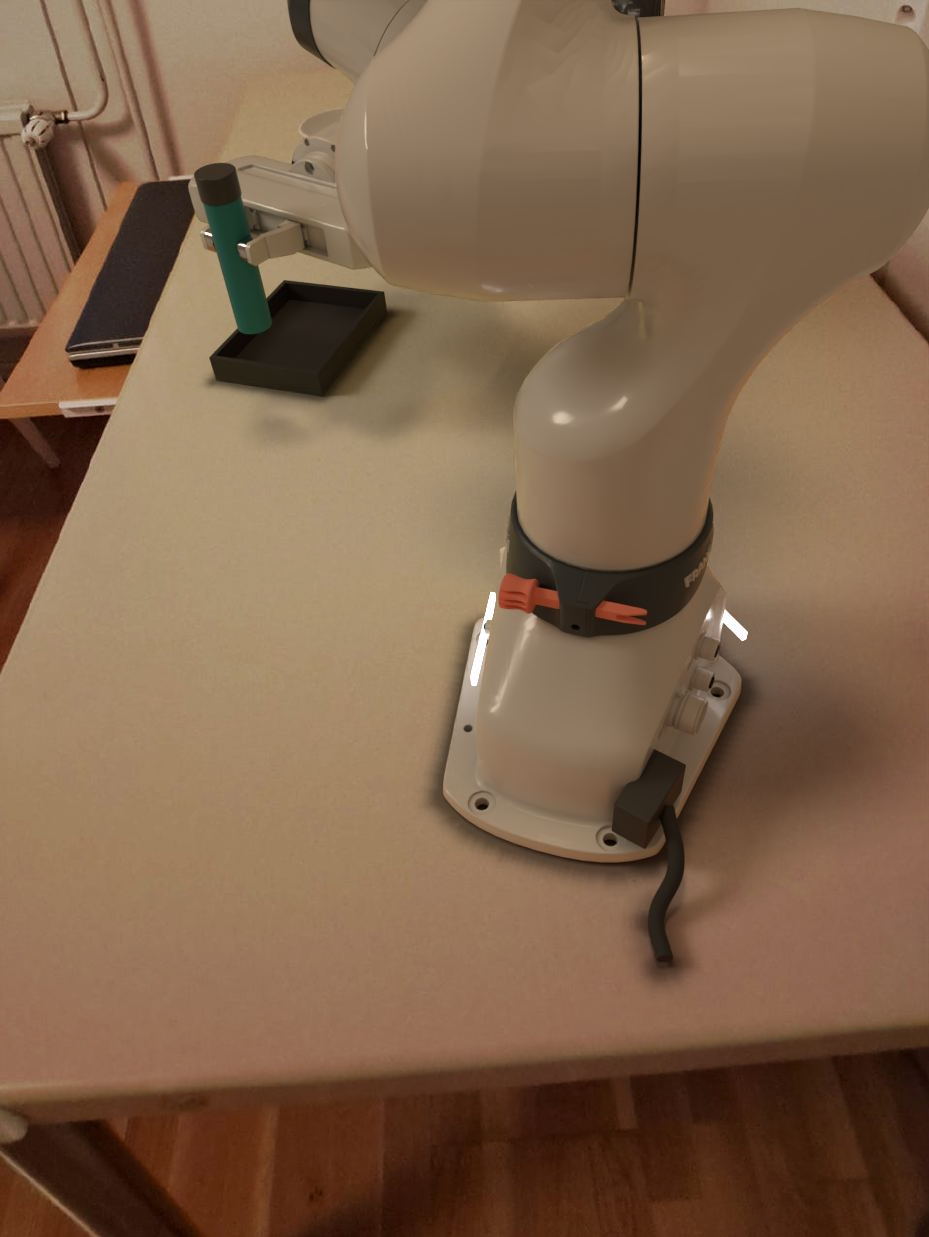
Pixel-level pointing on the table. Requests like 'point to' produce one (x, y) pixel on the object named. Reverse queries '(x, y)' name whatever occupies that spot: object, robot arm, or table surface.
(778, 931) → the table surface
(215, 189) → the marker
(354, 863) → the table surface
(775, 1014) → the table surface
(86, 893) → the table surface
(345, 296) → the tray
